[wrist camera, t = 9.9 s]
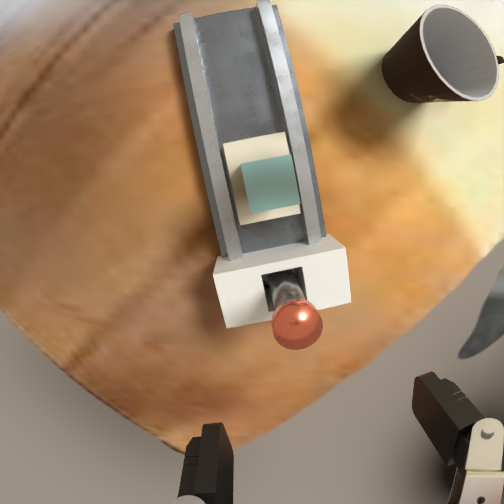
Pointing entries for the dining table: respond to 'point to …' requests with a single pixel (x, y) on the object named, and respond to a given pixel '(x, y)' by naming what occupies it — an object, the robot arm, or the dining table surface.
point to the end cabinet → (277, 259)
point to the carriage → (262, 178)
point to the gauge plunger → (292, 312)
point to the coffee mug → (442, 59)
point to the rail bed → (246, 118)
